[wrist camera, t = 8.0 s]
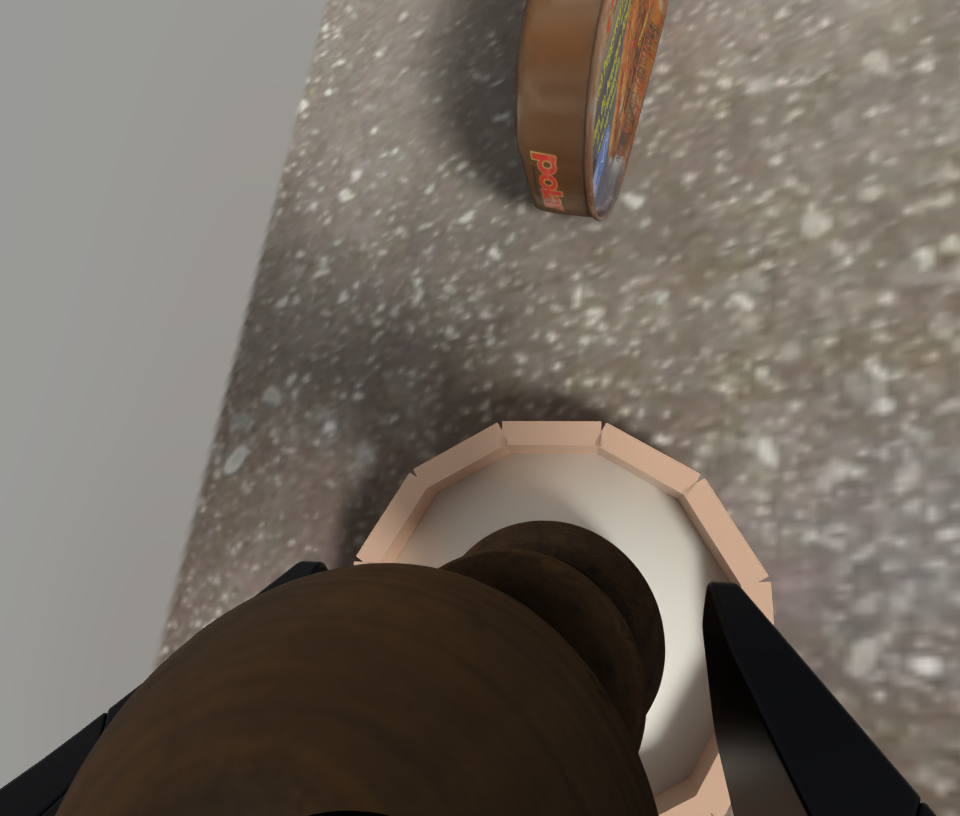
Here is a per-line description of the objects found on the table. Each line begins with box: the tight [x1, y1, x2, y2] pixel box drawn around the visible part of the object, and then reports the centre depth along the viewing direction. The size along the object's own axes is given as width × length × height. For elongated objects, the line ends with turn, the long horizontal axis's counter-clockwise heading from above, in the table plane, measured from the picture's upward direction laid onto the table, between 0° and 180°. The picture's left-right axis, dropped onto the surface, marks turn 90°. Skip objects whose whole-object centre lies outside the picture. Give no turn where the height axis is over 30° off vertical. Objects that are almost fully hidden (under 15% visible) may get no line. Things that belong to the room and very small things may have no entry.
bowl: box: [354, 421, 774, 816], centre depth 19 cm, size 13×13×2 cm
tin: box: [515, 0, 668, 221], centre depth 21 cm, size 15×3×8 cm, turn 164°
